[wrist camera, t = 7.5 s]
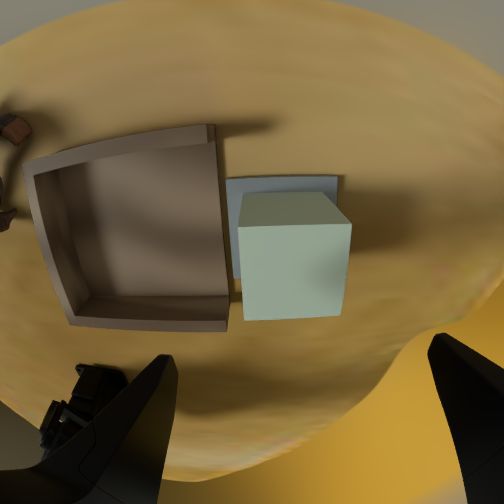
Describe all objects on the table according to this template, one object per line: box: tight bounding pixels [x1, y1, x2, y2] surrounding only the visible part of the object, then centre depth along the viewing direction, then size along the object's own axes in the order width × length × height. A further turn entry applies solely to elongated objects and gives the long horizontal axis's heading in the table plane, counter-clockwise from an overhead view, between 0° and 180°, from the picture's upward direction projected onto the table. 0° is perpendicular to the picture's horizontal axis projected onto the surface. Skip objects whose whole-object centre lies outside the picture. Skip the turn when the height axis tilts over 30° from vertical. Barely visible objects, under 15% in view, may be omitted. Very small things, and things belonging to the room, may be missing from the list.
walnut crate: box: [22, 124, 230, 332], centre depth 18 cm, size 13×13×3 cm
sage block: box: [238, 192, 352, 320], centre depth 16 cm, size 5×5×6 cm
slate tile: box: [226, 175, 338, 279], centre depth 19 cm, size 7×7×1 cm
